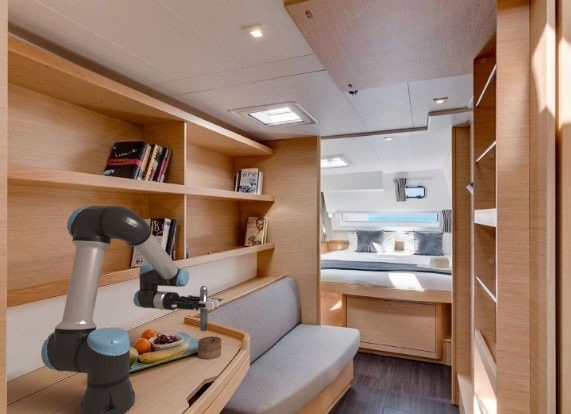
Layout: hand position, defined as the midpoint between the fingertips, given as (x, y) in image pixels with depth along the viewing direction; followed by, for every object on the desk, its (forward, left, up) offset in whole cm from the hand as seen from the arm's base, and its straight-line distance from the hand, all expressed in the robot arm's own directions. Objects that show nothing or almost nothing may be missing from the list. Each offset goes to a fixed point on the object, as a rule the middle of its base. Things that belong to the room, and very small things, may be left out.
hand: (215, 304), depth 134 cm
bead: (+4, +5, -23) cm, 24 cm away
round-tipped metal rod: (0, +5, -11) cm, 12 cm away
